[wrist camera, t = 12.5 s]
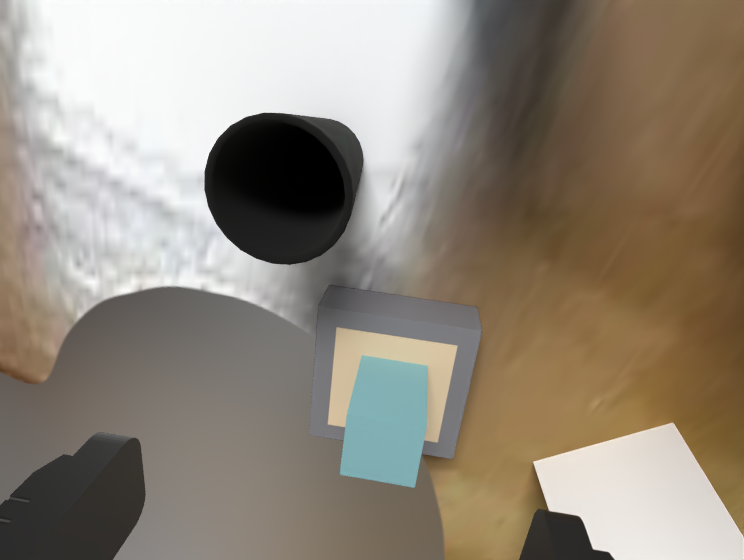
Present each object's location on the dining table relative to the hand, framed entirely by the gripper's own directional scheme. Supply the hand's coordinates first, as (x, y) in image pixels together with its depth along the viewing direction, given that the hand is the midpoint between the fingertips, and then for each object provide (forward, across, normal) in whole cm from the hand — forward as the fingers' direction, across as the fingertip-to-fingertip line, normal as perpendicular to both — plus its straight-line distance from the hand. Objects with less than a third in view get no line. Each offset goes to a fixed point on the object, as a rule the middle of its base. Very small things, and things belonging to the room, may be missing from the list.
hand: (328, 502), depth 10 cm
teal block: (+24, -1, +14) cm, 28 cm away
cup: (+28, +6, -2) cm, 29 cm away
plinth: (+28, -1, +14) cm, 31 cm away
